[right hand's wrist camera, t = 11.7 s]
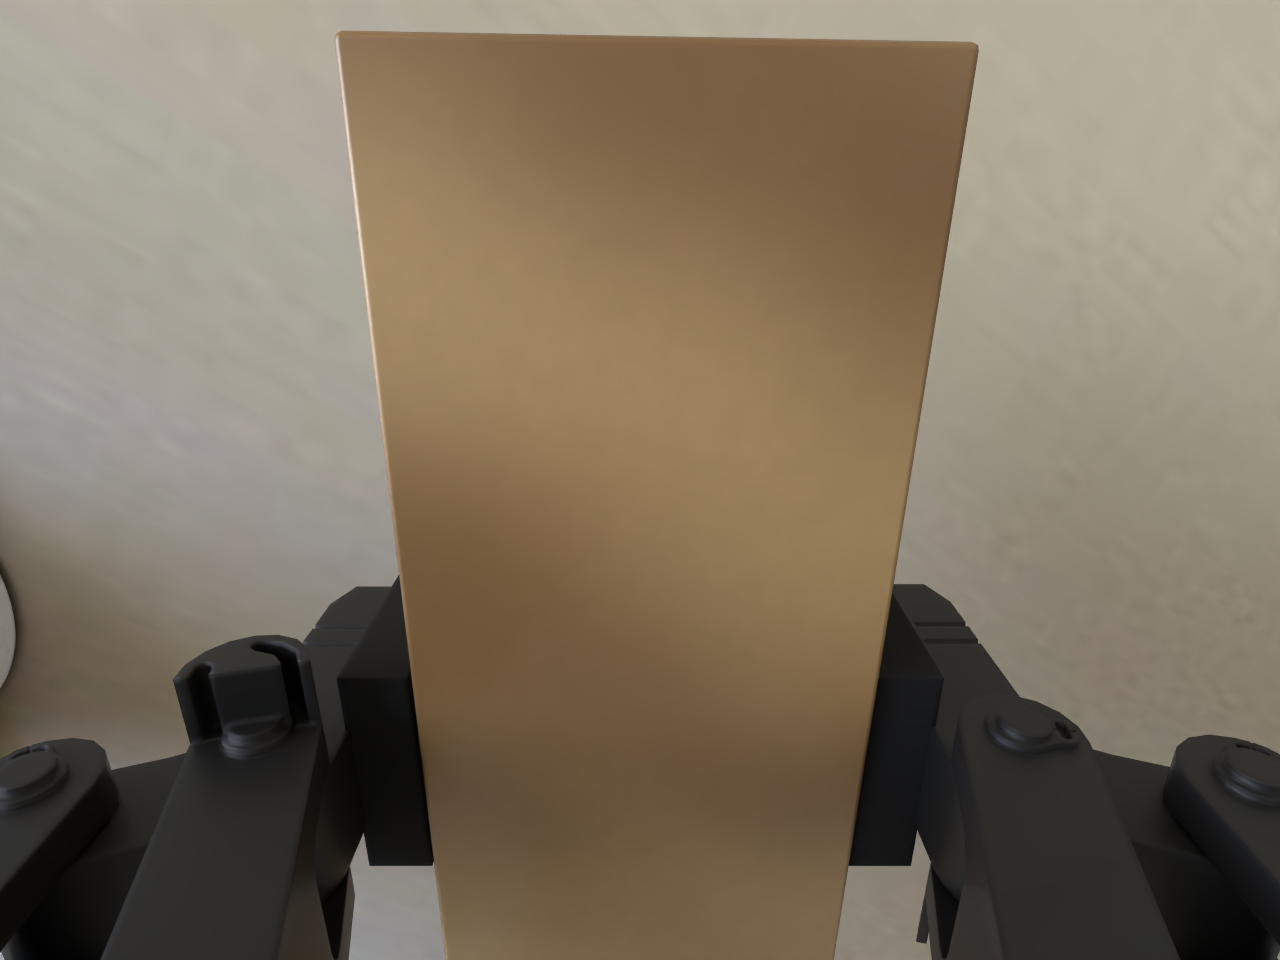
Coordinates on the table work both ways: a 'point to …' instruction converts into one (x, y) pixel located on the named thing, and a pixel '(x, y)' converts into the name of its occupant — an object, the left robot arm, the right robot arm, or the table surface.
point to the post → (648, 459)
